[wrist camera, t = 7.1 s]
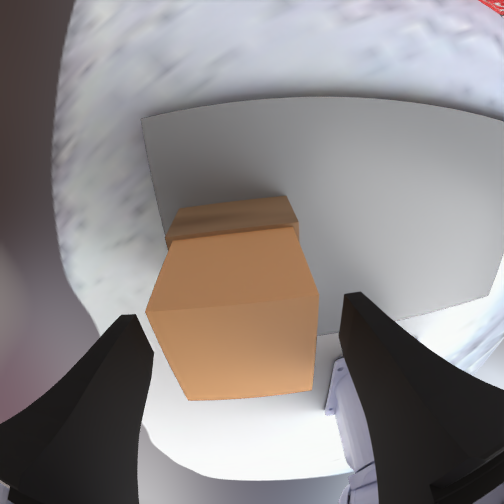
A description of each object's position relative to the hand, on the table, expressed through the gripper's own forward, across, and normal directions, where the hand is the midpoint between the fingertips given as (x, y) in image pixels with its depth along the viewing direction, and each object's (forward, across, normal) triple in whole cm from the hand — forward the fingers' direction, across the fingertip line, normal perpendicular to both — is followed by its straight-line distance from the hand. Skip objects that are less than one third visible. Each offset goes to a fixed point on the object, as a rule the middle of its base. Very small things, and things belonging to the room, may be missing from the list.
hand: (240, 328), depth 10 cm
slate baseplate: (+6, -8, 0) cm, 10 cm away
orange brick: (+2, 0, 0) cm, 3 cm away
